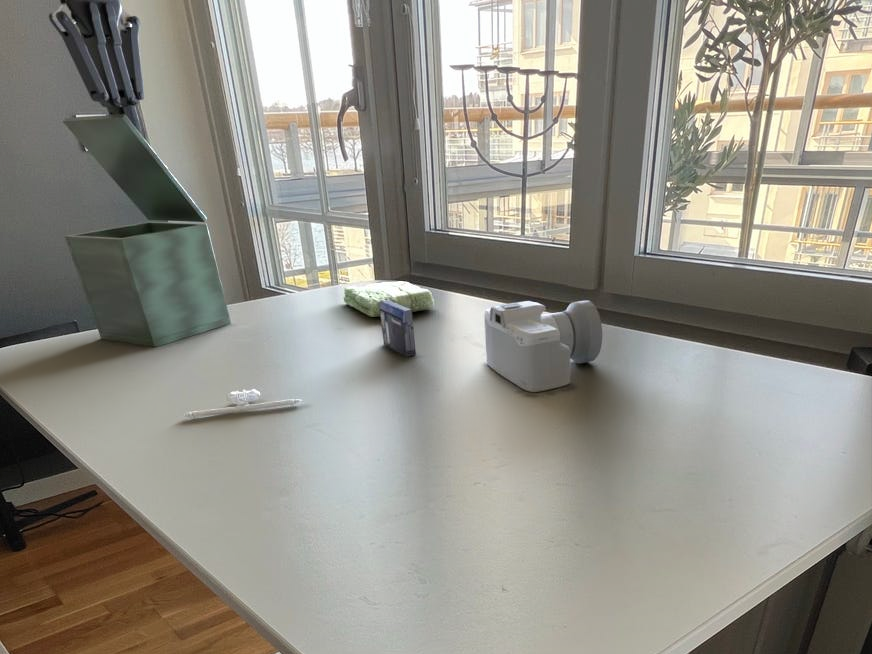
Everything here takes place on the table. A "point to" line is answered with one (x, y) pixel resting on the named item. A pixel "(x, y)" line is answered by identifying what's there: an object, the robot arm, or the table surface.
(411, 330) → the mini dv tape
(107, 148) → the lid
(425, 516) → the table surface
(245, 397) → the picture light
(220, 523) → the table surface
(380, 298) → the washcloth
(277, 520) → the table surface
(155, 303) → the green open box
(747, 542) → the table surface
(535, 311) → the digital camera
